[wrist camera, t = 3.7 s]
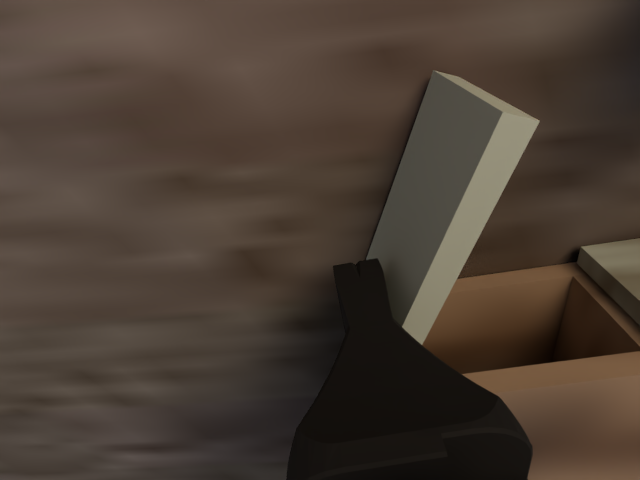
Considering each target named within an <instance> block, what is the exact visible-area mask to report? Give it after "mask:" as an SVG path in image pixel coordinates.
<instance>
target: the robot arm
mask: <svg viewBox="0 0 640 480" xmlns="http://www.w3.org/2000/svg"><path fill="white" fill-rule="evenodd" d="M356 267H357V268H356ZM333 270H334V277H335V283H336V288H337V293H338V298H339V303H340V308H341V313H342V318H343V323H344V328H345V333H346V335H345V338H344V340H343V343H342V346H341V349H340V351H339V353H338V356H337V358H336V360H335V363H334V365H333V367H332V369H331V372H330V374H329V376H328V378H327V379H326V381H325V383H324V385H323V387H322V389H321V390H320V392H319V394H318V396H317V398H316V399H315V401H314V403H313V404H312V406H311V407H310V409H309V410H308V412H307V413H306V415H305V417H304V418H303V420H302V421H301V423H300V424H299V426H298V427H297V429H296V432H295V436H294V440H293V443H292V447H291V452H290V457H289V462H288V470H287V479H286V480H528V479H527V478H528V473H529V469H530V464H531V460H532V456H533V447H532V444H531V443H530V441H529V438H528V436H527V434H526V433H525V431H524V429H523V428H522V426H521V425H520V423H519V422H518V420H517V419H516V417H515V416H514V415H513V413H512V412H511V411H510V409H509V408H508V407H507V405H506V404H505V403H504V402H503V400H502V399H501V398H500V397H499V396H497V395H496V394H494V393H492V392H490V391H488V390H487V389H485V388H483V387H481V386H480V385H478V384H476V383H475V382H473V381H471V380H470V379H468V378H467V377H465V376H464V375H462V374H461V373H459V372H457V371H456V370H454V369H453V368H451V367H450V366H449V365H447V364H446V363H445V362H443V361H442V360H441V359H439V358H438V357H437V356H435V355H434V354H433V353H431V352H430V351H429V350H427V349H426V348H425V347H424V346H422V345H421V344H420V343H419V342H418V341H417V340H415V339H414V338H413V337H412V336H411V335H410V334H409V333H408V332H407V331H406V330H404V329H403V328H402V327H401V326H400V325H399V324H398V323H397V322H396V320H395V319H394V318H393V317H392V313H391V308H390V303H389V298H388V293H387V287H386V282H385V277H384V272H383V269H382V266H381V264H380V262H379V260H378V258H374V259H369V260H363V261H359V262H358V263H357V264H356V265H355V264H353V263H347V264H341V265H336V266H333Z"/></svg>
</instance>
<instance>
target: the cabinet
mask: <svg viewBox="0 0 640 480" xmlns="http://www.w3.org/2000/svg"><path fill="white" fill-rule="evenodd" d="M422 346H424V347H425V348H426V349H427V350H429V351H430V352H431V353H433V354H434V355H435V356H437V357H438V358H439V359H441V360H442V361H443V362H445V363H446V364H447V365H449V366H450V367H451V368H453V369H454V370H456V371H457V372H459V373H461V374H462V375H464V376H465V377H467V378H468V379H470V380H471V381H473V382H475V383H476V384H478V385H480V386H481V387H483V388H485V389H487V390H488V391H490V392H492V393H494V394H496V395H497V396H499V397H500V398H501V399H502V400H503V402H504V403H505V404H506V405H507V407H508V408H509V409H510V411H511V412H512V413H513V415H514V416H515V417H516V419H517V420H518V422H519V423H520V425H521V426H522V428H523V429H524V431H525V433H526V434H527V436H528V438H529V441H530V443H531V444H532V447H533V456H532V460H531V464H530V469H529V473H528V478H527V479H528V480H640V238H638V239H631V240H624V241H617V242H610V243H603V244H597V245H590V246H583V247H581V248H580V252H579V256H578V260H577V262H573V263H566V264H559V265H552V266H545V267H538V268H531V269H524V270H517V271H510V272H503V273H496V274H489V275H482V276H475V277H468V278H461V279H457V280H456V281H455V283H454V285H453V287H452V289H451V291H450V293H449V295H448V297H447V299H446V300H445V302H444V304H443V306H442V308H441V310H440V312H439V314H438V316H437V318H436V320H435V321H434V323H433V325H432V327H431V329H430V331H429V333H428V335H427V337H426V339H425V340H424V342H423V344H422Z"/></svg>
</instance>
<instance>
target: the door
mask: <svg viewBox="0 0 640 480" xmlns="http://www.w3.org/2000/svg"><path fill="white" fill-rule="evenodd" d="M539 122H540V121H539V120H537V119H535V118H533V117H532V116H530V115H528V114H526V113H524V112H522V111H521V110H519V109H517V108H515V107H513V106H511V105H509V104H508V103H506V102H504V101H502V100H500V99H498V98H497V97H495V96H493V95H491V94H489V93H487V92H485V91H484V90H482V89H480V88H478V87H476V86H474V85H473V84H471V83H469V82H467V81H465V80H463V79H462V78H460V77H458V76H454V75H450V74H446V73H442V72H438V71H434V70H433V73H432V76H431V78H430V81H429V84H428V87H427V90H426V92H425V95H424V98H423V101H422V104H421V106H420V109H419V112H418V115H417V118H416V120H415V123H414V126H413V129H412V132H411V135H410V137H409V140H408V143H407V146H406V149H405V151H404V154H403V157H402V160H401V163H400V165H399V168H398V171H397V174H396V177H395V179H394V182H393V185H392V188H391V191H390V193H389V196H388V199H387V202H386V205H385V207H384V210H383V213H382V216H381V219H380V221H379V224H378V227H377V230H376V233H375V235H374V238H373V241H372V244H371V247H370V249H369V252H368V255H367V258H366V260H369V259H374V258H378V260H379V262H380V264H381V266H382V269H383V272H384V277H385V282H386V287H387V293H388V298H389V303H390V308H391V313H392V317H393V318H394V319H395V320H396V322H397V323H398V324H399V325H400V326H401V327H402V328H403V329H404V330H406V331H407V332H408V333H409V334H410V335H411V336H412V337H413V338H414V339H415V340H417V341H418V342H419V343H420V344H421V345H422V344H423V342H424V340H425V339H426V337H427V335H428V333H429V331H430V329H431V327H432V325H433V323H434V321H435V320H436V318H437V316H438V314H439V312H440V310H441V308H442V306H443V304H444V302H445V300H446V299H447V297H448V295H449V293H450V291H451V289H452V287H453V285H454V283H455V281H456V280H457V278H458V276H459V274H460V272H461V270H462V268H463V266H464V264H465V262H466V260H467V259H468V257H469V255H470V253H471V251H472V249H473V247H474V245H475V243H476V241H477V240H478V238H479V236H480V234H481V232H482V230H483V228H484V226H485V224H486V222H487V221H488V219H489V217H490V215H491V213H492V211H493V209H494V207H495V205H496V203H497V201H498V200H499V198H500V196H501V194H502V192H503V190H504V188H505V186H506V184H507V182H508V181H509V179H510V177H511V175H512V173H513V171H514V169H515V167H516V165H517V163H518V162H519V160H520V158H521V156H522V154H523V152H524V150H525V148H526V146H527V144H528V142H529V141H530V139H531V137H532V135H533V133H534V131H535V129H536V127H537V125H538V123H539Z"/></svg>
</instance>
